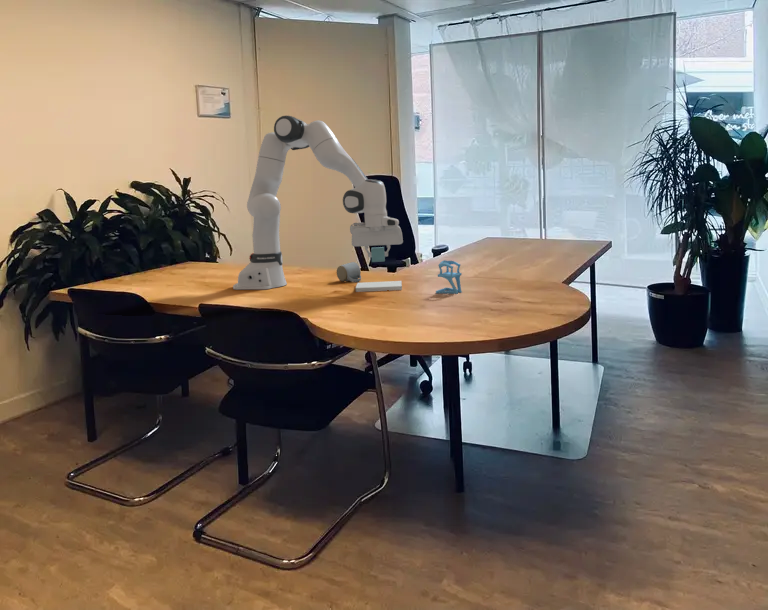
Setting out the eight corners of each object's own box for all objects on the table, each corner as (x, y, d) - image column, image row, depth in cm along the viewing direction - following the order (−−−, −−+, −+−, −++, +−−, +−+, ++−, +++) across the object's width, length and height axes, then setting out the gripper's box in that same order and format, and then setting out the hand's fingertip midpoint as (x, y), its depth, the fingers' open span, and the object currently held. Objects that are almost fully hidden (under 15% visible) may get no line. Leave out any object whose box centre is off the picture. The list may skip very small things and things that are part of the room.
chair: (454, 295, 237) (453, 262, 235) (435, 293, 242) (434, 261, 240) (465, 291, 243) (464, 259, 241) (446, 289, 248) (445, 258, 246)
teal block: (371, 262, 254) (371, 249, 253) (372, 260, 259) (371, 247, 258) (384, 261, 254) (383, 248, 253) (384, 259, 259) (384, 247, 258)
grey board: (355, 291, 253) (355, 288, 252) (357, 286, 264) (357, 282, 264) (401, 289, 252) (401, 286, 252) (401, 284, 264) (401, 280, 263)
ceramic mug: (335, 281, 279) (334, 263, 278) (350, 278, 285) (349, 261, 283) (351, 284, 272) (350, 265, 270) (366, 281, 277) (365, 263, 275)
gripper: (349, 223, 250) (351, 259, 253) (402, 220, 250) (403, 256, 253) (350, 222, 256) (352, 257, 259) (401, 219, 256) (403, 254, 259)
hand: (378, 256), depth 256 cm, fingers closed on teal block, 5 cm apart
